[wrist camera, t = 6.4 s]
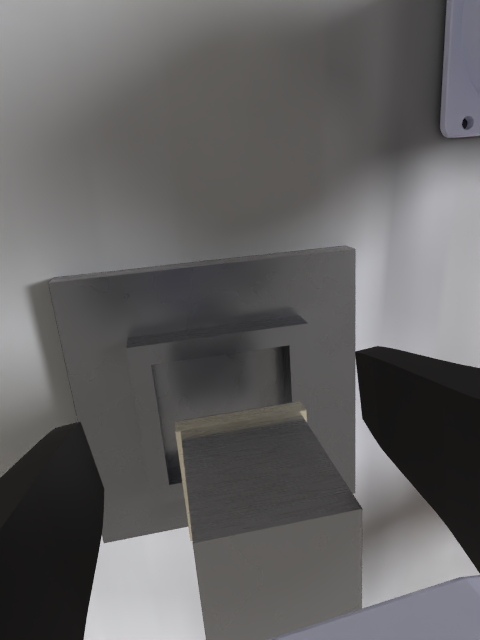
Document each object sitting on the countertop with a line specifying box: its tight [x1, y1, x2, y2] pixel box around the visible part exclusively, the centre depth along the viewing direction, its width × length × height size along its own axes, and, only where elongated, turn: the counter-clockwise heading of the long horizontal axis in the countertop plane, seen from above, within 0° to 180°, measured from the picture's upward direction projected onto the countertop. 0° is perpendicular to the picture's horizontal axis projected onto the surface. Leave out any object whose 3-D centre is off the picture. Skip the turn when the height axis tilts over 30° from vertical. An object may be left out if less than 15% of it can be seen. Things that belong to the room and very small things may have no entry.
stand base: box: [48, 246, 355, 543], centre depth 18 cm, size 12×12×4 cm
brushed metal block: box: [175, 401, 362, 640], centre depth 13 cm, size 4×4×5 cm
